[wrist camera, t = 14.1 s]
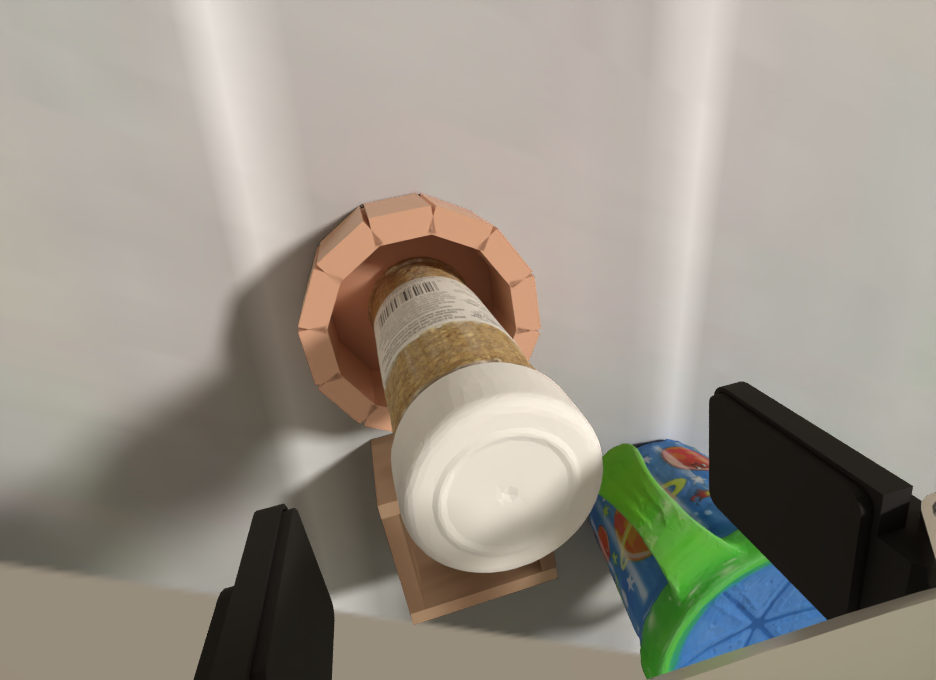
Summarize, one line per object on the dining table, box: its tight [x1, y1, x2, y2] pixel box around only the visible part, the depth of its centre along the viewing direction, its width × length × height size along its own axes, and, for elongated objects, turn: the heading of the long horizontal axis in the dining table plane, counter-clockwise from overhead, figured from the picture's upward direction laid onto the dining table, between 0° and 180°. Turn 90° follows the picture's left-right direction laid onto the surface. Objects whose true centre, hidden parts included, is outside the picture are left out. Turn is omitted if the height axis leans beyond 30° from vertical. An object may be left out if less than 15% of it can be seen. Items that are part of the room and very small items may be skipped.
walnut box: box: [371, 434, 558, 625], centre depth 25 cm, size 7×7×5 cm
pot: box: [298, 193, 541, 431], centre depth 22 cm, size 9×9×4 cm
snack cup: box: [589, 439, 827, 679], centre depth 26 cm, size 16×10×10 cm
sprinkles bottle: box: [368, 257, 603, 573], centre depth 17 cm, size 5×5×13 cm
